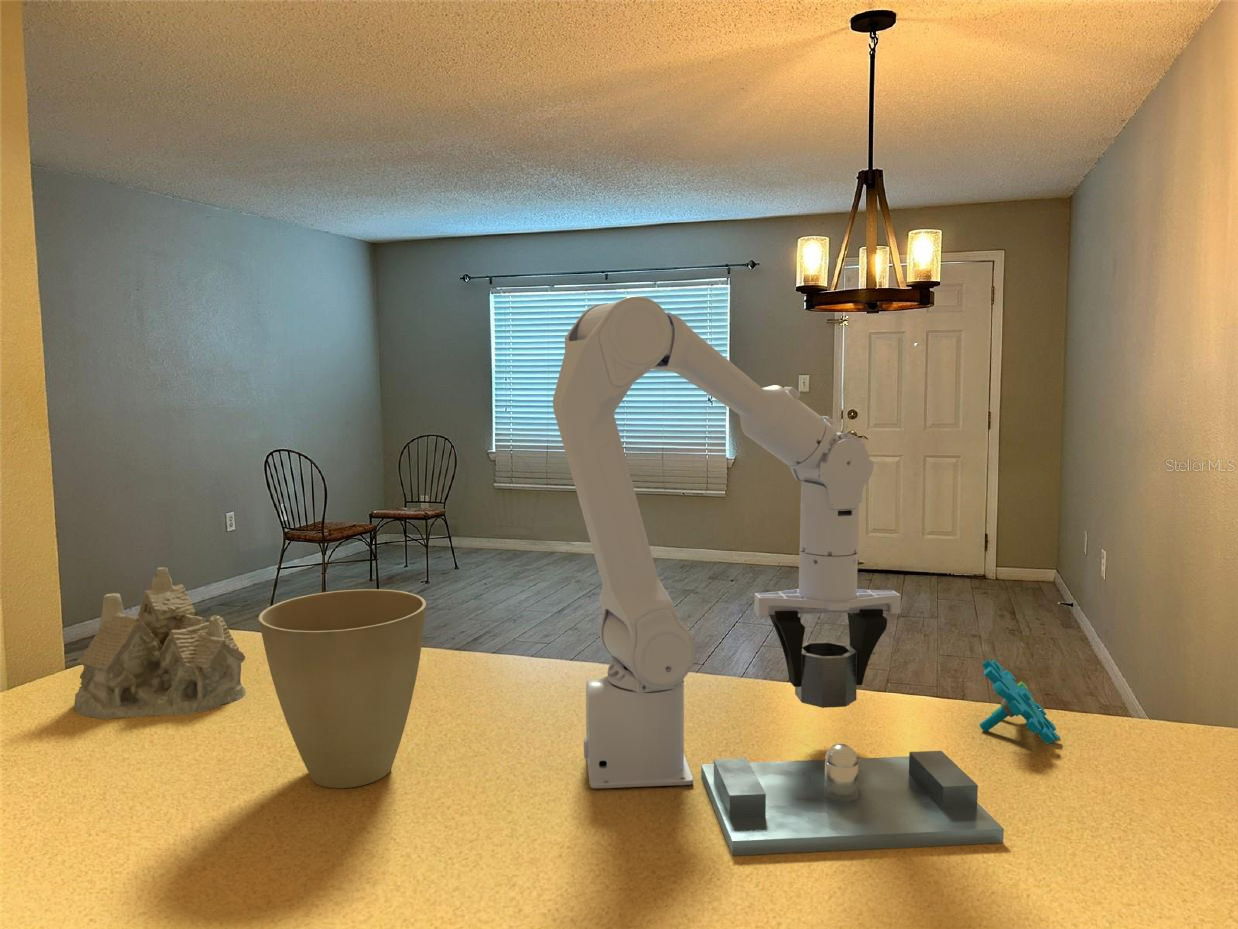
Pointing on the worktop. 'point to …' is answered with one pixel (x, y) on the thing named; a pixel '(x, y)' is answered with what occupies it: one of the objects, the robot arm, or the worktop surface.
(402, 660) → the plant pot
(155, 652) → the ceramic cottage
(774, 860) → the worktop surface
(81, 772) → the worktop surface
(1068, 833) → the worktop surface
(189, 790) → the worktop surface
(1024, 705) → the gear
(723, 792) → the shaft mount
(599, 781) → the robot arm
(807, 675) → the collar
